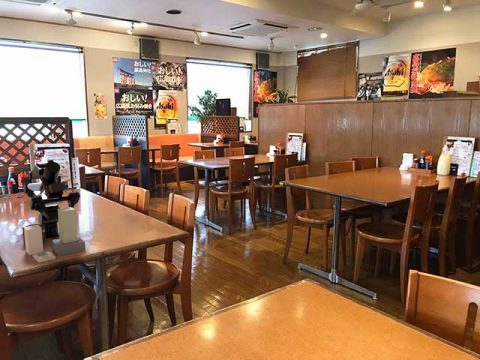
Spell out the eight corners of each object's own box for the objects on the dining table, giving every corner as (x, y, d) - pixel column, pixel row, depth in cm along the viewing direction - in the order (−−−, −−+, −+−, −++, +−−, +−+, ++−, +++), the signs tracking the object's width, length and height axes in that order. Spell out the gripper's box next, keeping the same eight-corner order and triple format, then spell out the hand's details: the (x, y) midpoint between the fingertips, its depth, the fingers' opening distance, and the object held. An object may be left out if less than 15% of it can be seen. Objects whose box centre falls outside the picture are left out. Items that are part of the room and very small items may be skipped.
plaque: (32, 256, 146) (32, 254, 145) (49, 252, 149) (49, 251, 149) (38, 262, 140) (38, 260, 140) (55, 258, 144) (55, 256, 143)
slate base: (52, 249, 154) (52, 240, 154) (78, 244, 160) (78, 235, 160) (58, 256, 147) (57, 247, 146) (85, 251, 153) (84, 241, 152)
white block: (26, 251, 151) (23, 227, 149) (39, 248, 154) (37, 224, 152) (29, 255, 147) (27, 230, 145) (43, 252, 150) (41, 227, 149)
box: (35, 245, 158) (34, 228, 156) (23, 244, 159) (21, 227, 158) (46, 240, 164) (44, 224, 162) (33, 239, 165) (32, 223, 164)
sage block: (59, 240, 153) (57, 208, 151) (72, 238, 156) (70, 207, 154) (64, 243, 149) (62, 211, 147) (77, 240, 153) (75, 209, 151)
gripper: (29, 177, 151) (39, 210, 145) (77, 173, 163) (88, 202, 157) (25, 193, 158) (35, 225, 152) (72, 188, 170) (82, 217, 164)
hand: (61, 217), depth 156 cm, fingers open, 9 cm apart
